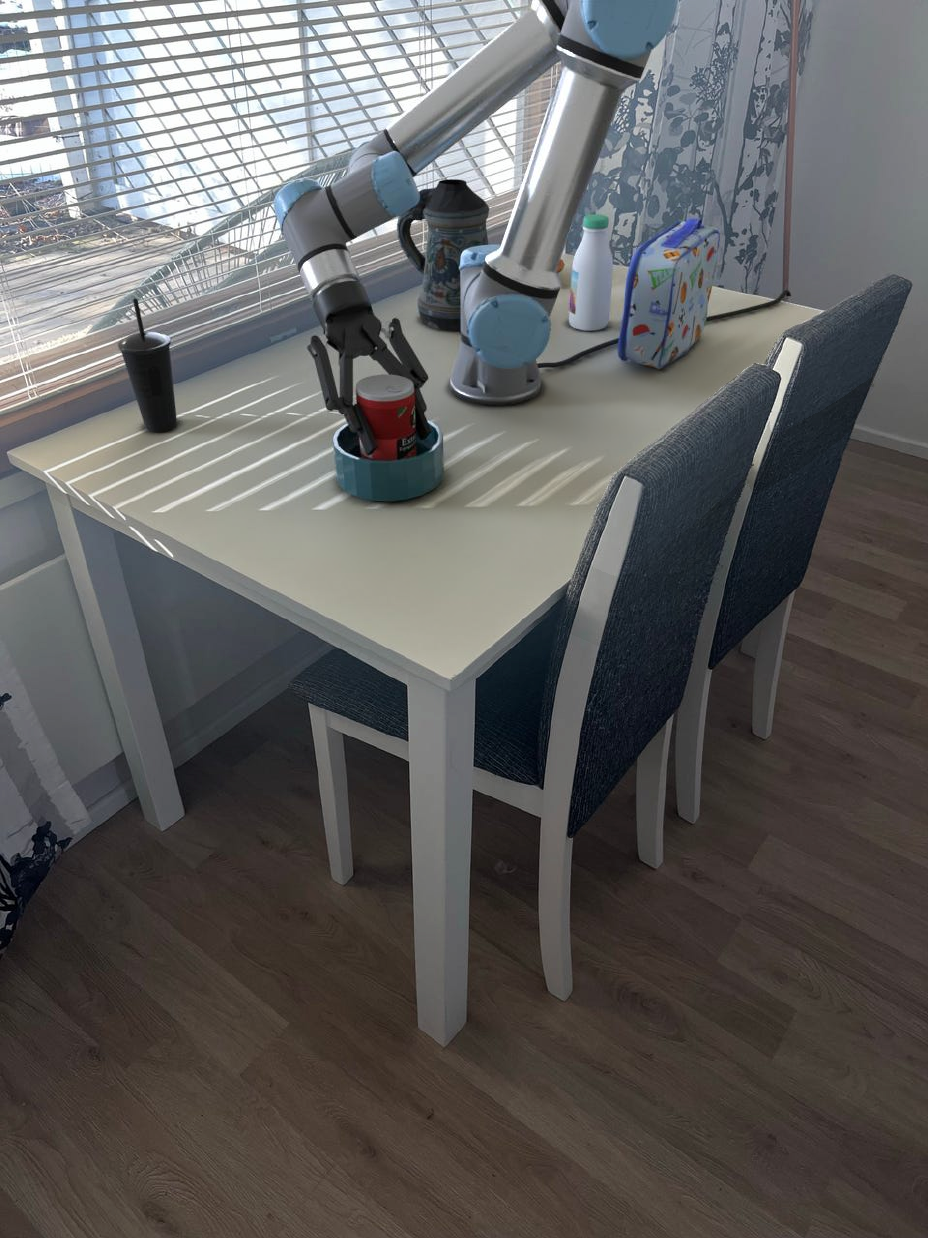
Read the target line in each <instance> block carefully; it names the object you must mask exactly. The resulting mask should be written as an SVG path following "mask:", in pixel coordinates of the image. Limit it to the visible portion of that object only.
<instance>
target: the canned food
mask: <svg viewBox="0 0 928 1238" xmlns="http://www.w3.org/2000/svg"><path fill="white" fill-rule="evenodd" d="M355 401H356V404H357V403H360V405H361V407H362V410H363V412H364V415H365V417H366V419H367V422H368V424H369V427H370V429H371V432H372V434H373V436H374V439H375V441H376V444H377V446H378V448H377V449H376V450H375V451H374V452H373V454H371V455H368V456H367V454H366V452H365V449H364V447H363V445H362V442H361V440H360V437H359V440H360V452H361V457H362V458H363V459H368V460H378V461H392V460H401V459H407V458H410V457H414V456H416V423H415V395H414V384H413V382H412V381H411V380H409V379H407V378H405V377H402V376H397V375H389V374H388V373H387V374H385V373H384V374H375V375H370V376H366V377H364V378H361V379H360V380H359V381H357V383H356V385H355Z"/></svg>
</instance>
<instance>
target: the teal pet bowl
mask: <svg viewBox="0 0 928 1238" xmlns="http://www.w3.org/2000/svg"><path fill="white" fill-rule="evenodd" d="M427 421H428V424H429V426H430V428H431V431H432V432H431V433H430V434H429V435H428V437H427V438H426V439H424V440H420V438H419V436H418V433H417V431H416V456H414V457H410V458H407V459H401V460H392V461H378V460H368V459H363V458H362V457H361V452H360V440H359V435H358V433H357V432H354V433H352V431H351V430H350V428H349V426H348V423H347V422H346V423H344V424H343V425H342V426H340V428H338V429H337V430H335V433H334V435H333V437H332V449H333V457H334V468H335V477H336V481H337V485H338V486H339V487H340V488H341V489H342V490H343V491H344V492H345V493H347V494H350V495H351V496H354V497H356V498H359V499H364V500H368V501H373V502H398V501H404V500H405V501H406V500H410V499H413V498H417V497H420V496H424V495H425V494H427V493H429V492H431V491H432V490H434V489H436V488H437V487H438V486H439V485H440V483H441V482H442V481H443V479H444V474H445V458H444V434H443V432H442V430H441V428H440V427H439V426H438V425H437V424H435V423H434V422H433V421H431V420H428V419H427Z"/></svg>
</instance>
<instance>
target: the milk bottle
mask: <svg viewBox="0 0 928 1238" xmlns="http://www.w3.org/2000/svg"><path fill="white" fill-rule="evenodd" d="M609 221H610V218H609V216H607V215H606V214H605V215H604V214H599V213H593V214H587V215H585V216H583V220H582V226H583V227H582V230H583V234H582V238H581V241H580V243H579V246H578V248H577V249H576V252H575V254H574V257H573V261H572V267H571V268H572V269H571V280H570V292H569V293H570V294H569V309H568V324H569V325H570V326H571V327H572V328H574V329H577V330H580V331H589V332H591V331H600V330H603V329H605V328H606V327H607V326H608V325H609V320H610V311H611V301H612V300H611V298H612V288H613V287H612V286H613V272H614V260H613V254H612V251H611V247H610V245H609V242H608V236H607V233H608V232H607V231H608V230H609V224H610V223H609Z"/></svg>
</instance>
